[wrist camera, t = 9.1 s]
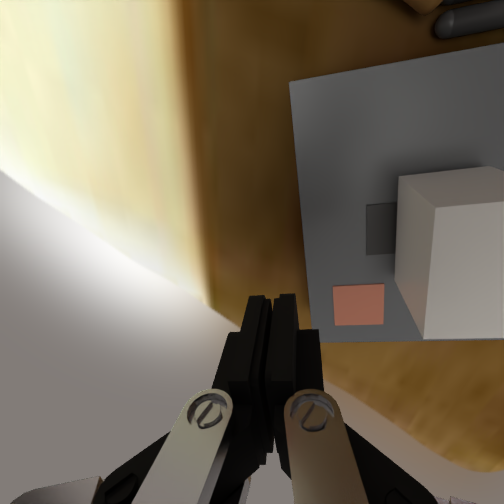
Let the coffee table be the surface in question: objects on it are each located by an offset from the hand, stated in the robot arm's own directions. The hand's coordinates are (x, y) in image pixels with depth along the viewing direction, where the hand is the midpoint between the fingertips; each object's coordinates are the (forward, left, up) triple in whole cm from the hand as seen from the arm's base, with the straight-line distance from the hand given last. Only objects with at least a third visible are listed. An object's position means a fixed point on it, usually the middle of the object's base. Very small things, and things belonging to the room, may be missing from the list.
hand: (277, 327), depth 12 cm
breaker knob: (-8, 0, -7) cm, 11 cm away
